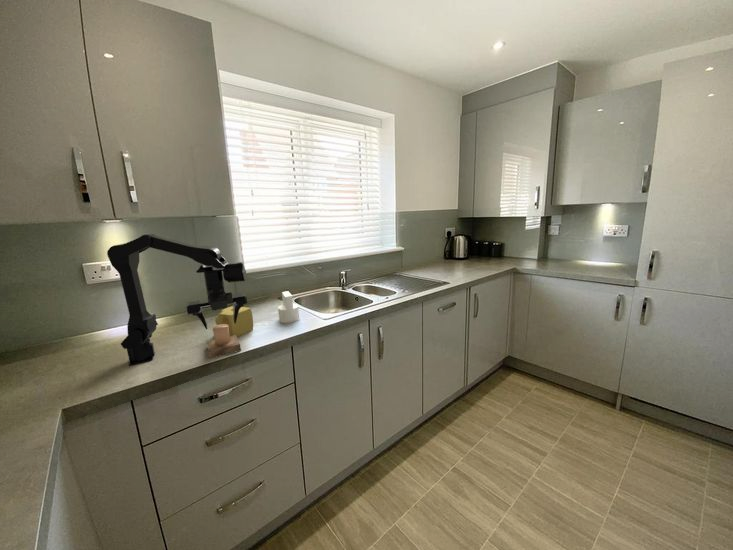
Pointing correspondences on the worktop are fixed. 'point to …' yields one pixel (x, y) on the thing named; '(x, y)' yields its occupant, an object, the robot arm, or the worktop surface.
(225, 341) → the terracotta cylinder
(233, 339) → the walnut base
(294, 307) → the base with upright slab
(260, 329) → the worktop surface
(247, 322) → the cheese
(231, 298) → the robot arm
